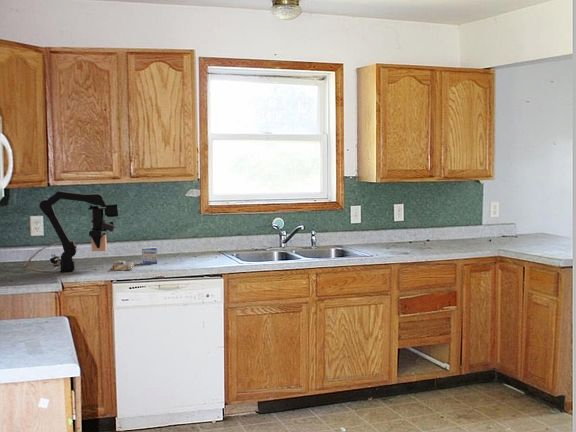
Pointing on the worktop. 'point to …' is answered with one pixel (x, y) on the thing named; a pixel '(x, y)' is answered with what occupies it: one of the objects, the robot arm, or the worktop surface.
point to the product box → (102, 244)
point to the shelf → (122, 267)
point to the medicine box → (149, 255)
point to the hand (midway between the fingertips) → (99, 247)
